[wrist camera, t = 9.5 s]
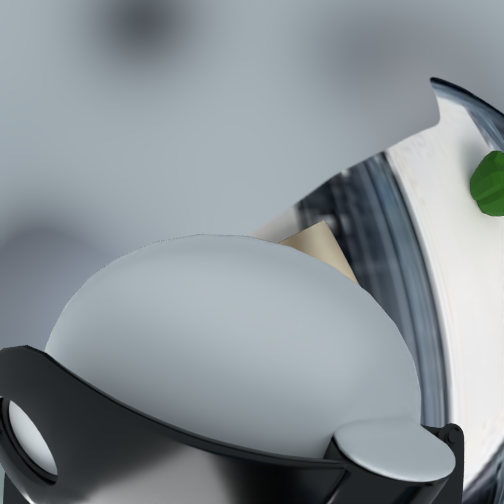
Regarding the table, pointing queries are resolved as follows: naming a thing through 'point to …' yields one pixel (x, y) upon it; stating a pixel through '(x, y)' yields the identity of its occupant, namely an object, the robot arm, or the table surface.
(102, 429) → the shaker bottle
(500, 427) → the table surface
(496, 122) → the table surface
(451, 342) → the table surface
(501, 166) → the bell pepper
